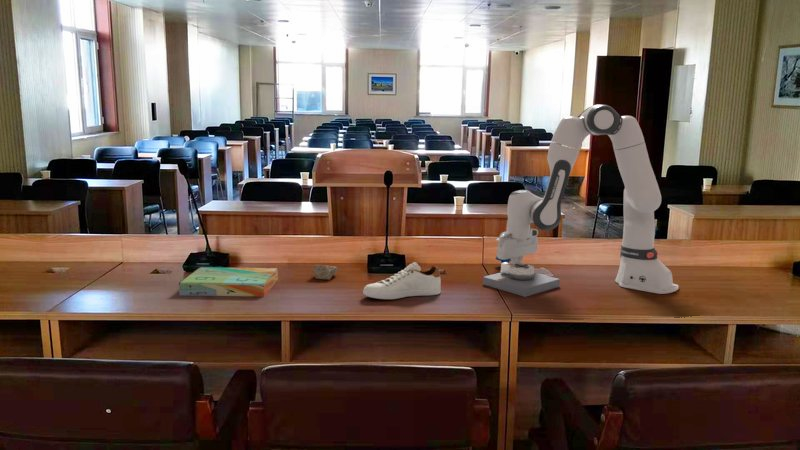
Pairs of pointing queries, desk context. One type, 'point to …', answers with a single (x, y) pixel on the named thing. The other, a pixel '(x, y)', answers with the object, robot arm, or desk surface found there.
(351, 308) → the desk surface
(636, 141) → the robot arm
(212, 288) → the box
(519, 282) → the panel
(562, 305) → the desk surface
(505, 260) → the toy
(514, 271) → the dial
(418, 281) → the Shoe
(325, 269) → the rock
